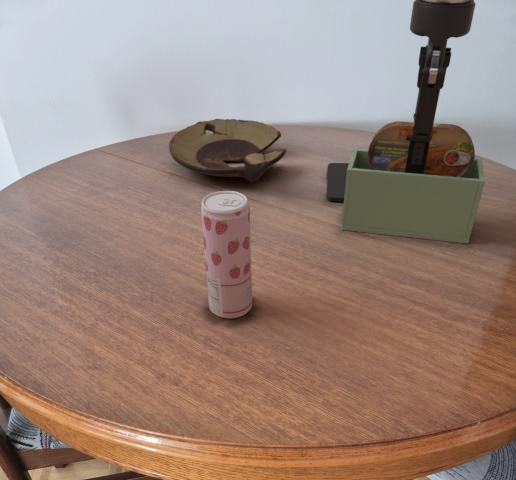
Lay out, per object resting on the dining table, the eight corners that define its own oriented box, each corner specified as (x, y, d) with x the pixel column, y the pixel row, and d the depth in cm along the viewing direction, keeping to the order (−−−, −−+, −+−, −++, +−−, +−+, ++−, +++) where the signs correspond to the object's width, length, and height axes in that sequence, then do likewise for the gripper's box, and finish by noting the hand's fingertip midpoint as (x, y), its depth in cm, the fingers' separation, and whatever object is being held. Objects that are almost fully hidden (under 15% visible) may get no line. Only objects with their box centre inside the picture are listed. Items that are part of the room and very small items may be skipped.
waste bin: (466, 218, 89) (481, 158, 82) (468, 243, 83) (485, 181, 76) (348, 206, 93) (353, 148, 86) (341, 230, 87) (347, 169, 80)
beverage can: (256, 316, 70) (254, 208, 60) (212, 322, 69) (203, 214, 59) (247, 291, 74) (244, 187, 64) (206, 297, 73) (196, 192, 63)
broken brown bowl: (280, 141, 116) (281, 103, 111) (293, 204, 94) (294, 161, 89) (176, 144, 116) (172, 106, 111) (163, 208, 93) (157, 165, 88)
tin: (364, 179, 83) (371, 124, 78) (367, 169, 86) (373, 115, 80) (466, 188, 80) (481, 132, 75) (466, 178, 83) (480, 123, 77)
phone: (326, 197, 94) (327, 162, 105) (326, 201, 94) (327, 166, 105) (370, 198, 93) (366, 163, 104) (369, 203, 94) (365, 167, 105)
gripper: (416, -13, 74) (391, 157, 89) (411, 7, 62) (383, 198, 78) (474, -12, 73) (438, 160, 88) (479, 9, 61) (437, 203, 76)
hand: (412, 178), depth 83 cm, fingers closed on tin, 3 cm apart
